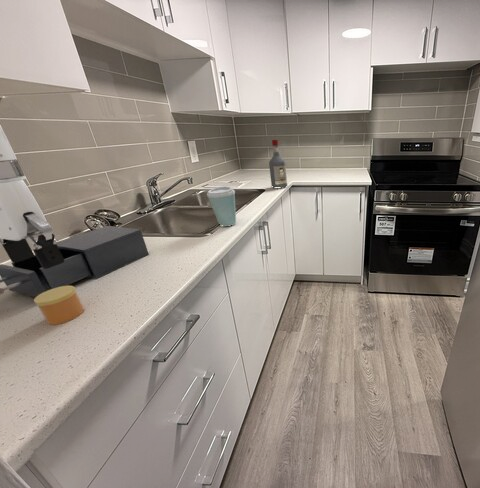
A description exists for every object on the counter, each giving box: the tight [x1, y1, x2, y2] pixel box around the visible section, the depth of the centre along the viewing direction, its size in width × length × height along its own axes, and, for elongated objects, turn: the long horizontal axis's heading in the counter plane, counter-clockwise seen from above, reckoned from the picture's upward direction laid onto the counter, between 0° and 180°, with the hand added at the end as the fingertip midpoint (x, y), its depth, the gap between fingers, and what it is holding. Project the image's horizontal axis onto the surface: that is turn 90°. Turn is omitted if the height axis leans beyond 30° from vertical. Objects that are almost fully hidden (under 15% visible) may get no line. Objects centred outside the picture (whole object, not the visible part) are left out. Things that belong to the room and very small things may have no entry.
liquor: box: [268, 139, 288, 188], centre depth 172 cm, size 9×9×30 cm
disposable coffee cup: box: [206, 185, 237, 227], centre depth 106 cm, size 11×11×15 cm
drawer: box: [0, 248, 93, 298], centre depth 66 cm, size 19×13×7 cm
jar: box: [33, 285, 85, 326], centre depth 55 cm, size 6×6×6 cm
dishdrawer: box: [56, 225, 150, 280], centre depth 78 cm, size 16×15×9 cm
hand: (38, 262), depth 51 cm, fingers open, 9 cm apart
